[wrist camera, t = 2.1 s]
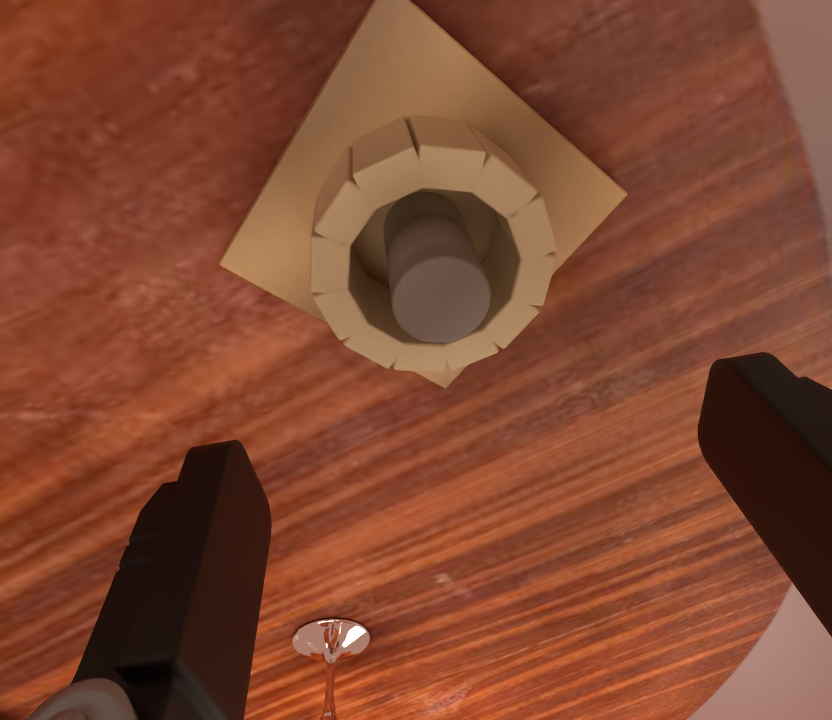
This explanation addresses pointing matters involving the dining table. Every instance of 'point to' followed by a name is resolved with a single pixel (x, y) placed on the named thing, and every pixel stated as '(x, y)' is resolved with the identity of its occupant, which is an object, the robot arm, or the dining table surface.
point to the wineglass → (330, 649)
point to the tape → (404, 174)
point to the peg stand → (425, 208)
